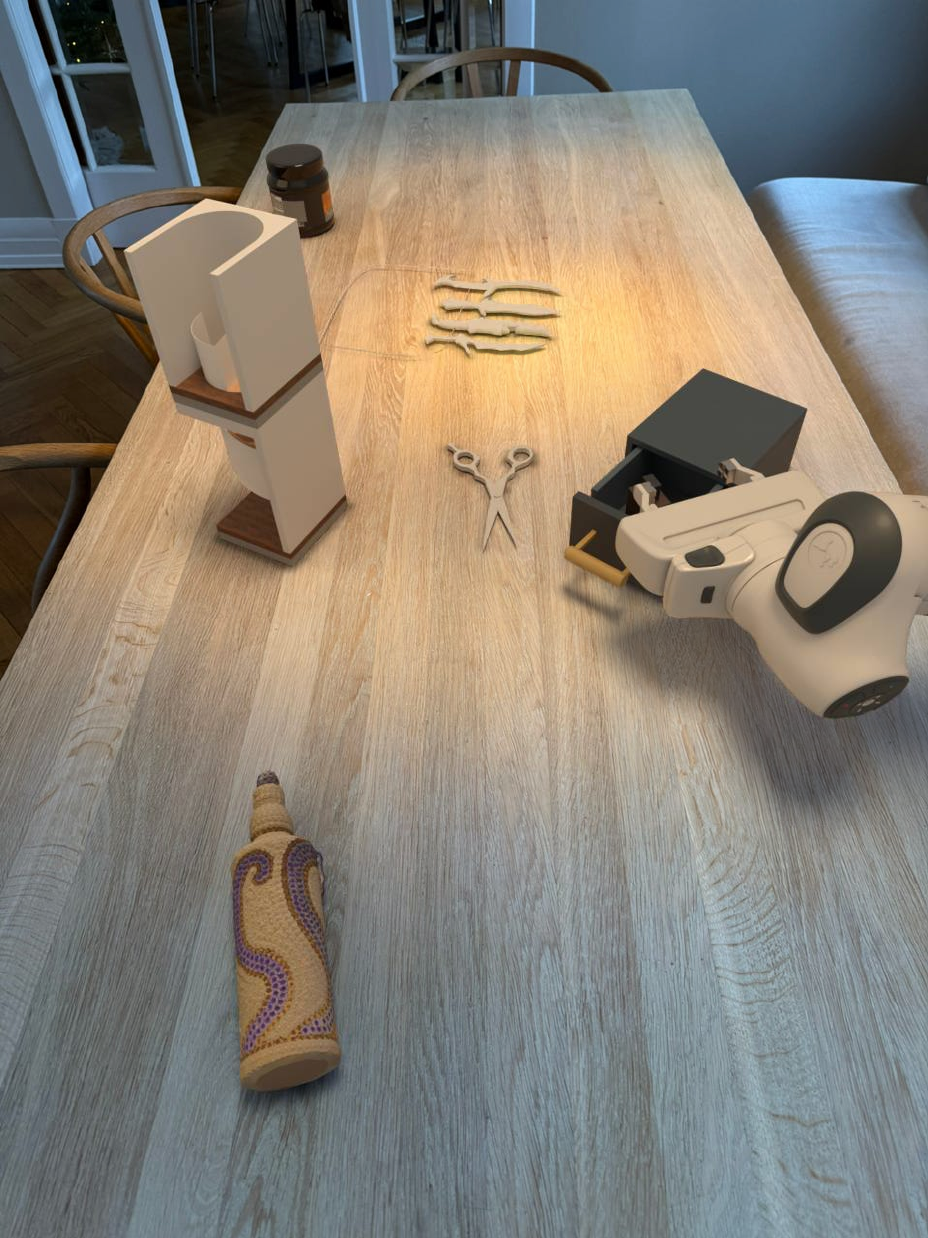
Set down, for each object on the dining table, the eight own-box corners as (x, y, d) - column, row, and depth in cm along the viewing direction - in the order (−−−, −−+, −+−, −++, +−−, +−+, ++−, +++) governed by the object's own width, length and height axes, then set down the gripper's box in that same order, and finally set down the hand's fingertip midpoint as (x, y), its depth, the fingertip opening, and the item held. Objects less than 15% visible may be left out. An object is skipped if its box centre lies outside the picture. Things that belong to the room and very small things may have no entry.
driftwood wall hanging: (547, 371, 124) (547, 364, 123) (311, 351, 129) (310, 344, 129) (570, 280, 140) (571, 273, 139) (360, 265, 146) (359, 259, 145)
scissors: (530, 437, 113) (547, 545, 100) (530, 442, 114) (547, 550, 100) (448, 442, 113) (454, 550, 100) (448, 447, 114) (454, 555, 100)
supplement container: (341, 212, 159) (331, 142, 150) (327, 240, 152) (316, 168, 143) (285, 210, 161) (272, 140, 151) (268, 238, 154) (254, 166, 145)
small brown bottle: (663, 547, 98) (674, 488, 91) (638, 554, 97) (648, 495, 91) (646, 524, 100) (655, 465, 94) (622, 531, 100) (630, 472, 93)
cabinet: (719, 548, 100) (736, 483, 93) (618, 499, 106) (627, 435, 99) (787, 473, 108) (807, 408, 101) (690, 432, 114) (702, 367, 107)
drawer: (637, 626, 92) (646, 574, 86) (541, 573, 97) (544, 521, 91) (734, 520, 102) (748, 467, 96) (643, 478, 107) (650, 425, 101)
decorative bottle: (352, 1076, 65) (338, 1051, 60) (250, 1101, 65) (227, 1078, 60) (318, 780, 82) (305, 741, 77) (236, 796, 81) (218, 758, 76)
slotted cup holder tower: (277, 481, 111) (206, 198, 84) (348, 506, 107) (296, 218, 81) (220, 538, 104) (123, 250, 78) (293, 566, 101) (217, 275, 74)
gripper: (867, 513, 79) (780, 426, 88) (663, 574, 75) (593, 476, 84) (847, 562, 84) (766, 475, 92) (653, 622, 80) (588, 525, 88)
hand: (682, 476), depth 88 cm, fingers open, 8 cm apart
